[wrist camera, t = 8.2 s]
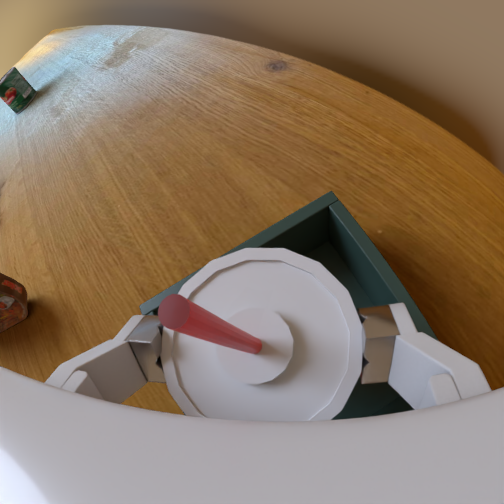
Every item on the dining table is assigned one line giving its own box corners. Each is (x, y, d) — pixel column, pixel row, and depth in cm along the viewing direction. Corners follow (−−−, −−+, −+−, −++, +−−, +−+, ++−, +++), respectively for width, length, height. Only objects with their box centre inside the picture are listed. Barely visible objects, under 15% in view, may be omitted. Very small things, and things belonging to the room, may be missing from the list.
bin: (432, 382, 16) (464, 384, 11) (259, 480, 16) (238, 510, 12) (331, 228, 22) (331, 189, 17) (176, 320, 22) (138, 305, 18)
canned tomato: (13, 119, 52) (-11, 94, 43) (19, 104, 56) (-2, 81, 46) (33, 101, 52) (9, 74, 42) (39, 87, 55) (17, 62, 45)
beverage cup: (223, 393, 16) (8, 404, 4) (253, 296, 18) (112, 131, 6) (325, 421, 14) (329, 576, 2) (353, 319, 16) (433, 156, 4)
